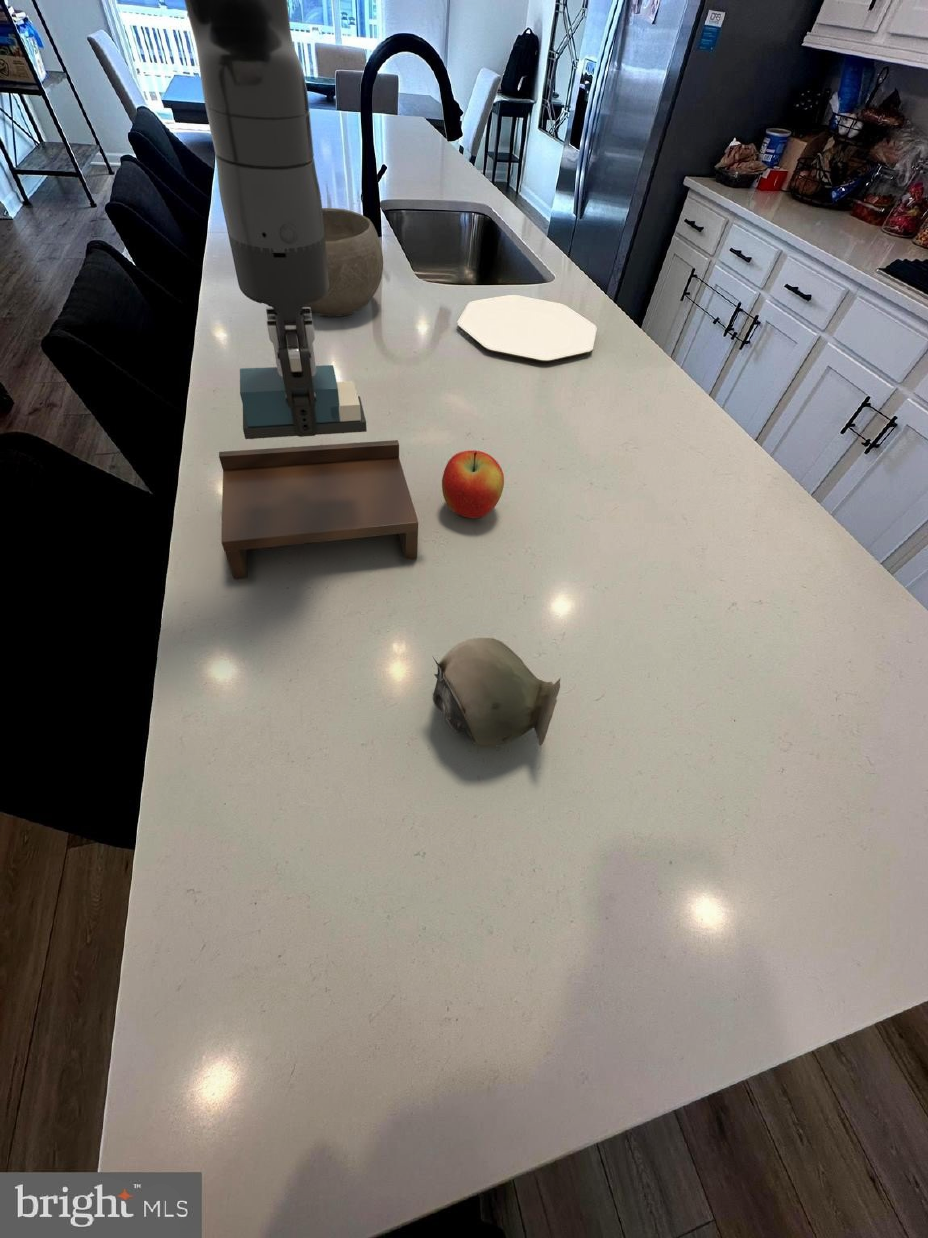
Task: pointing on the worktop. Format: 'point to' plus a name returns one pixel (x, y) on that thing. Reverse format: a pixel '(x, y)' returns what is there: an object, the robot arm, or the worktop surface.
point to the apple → (472, 483)
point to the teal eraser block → (274, 417)
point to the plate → (528, 328)
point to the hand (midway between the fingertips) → (304, 418)
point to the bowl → (349, 263)
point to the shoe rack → (313, 497)
